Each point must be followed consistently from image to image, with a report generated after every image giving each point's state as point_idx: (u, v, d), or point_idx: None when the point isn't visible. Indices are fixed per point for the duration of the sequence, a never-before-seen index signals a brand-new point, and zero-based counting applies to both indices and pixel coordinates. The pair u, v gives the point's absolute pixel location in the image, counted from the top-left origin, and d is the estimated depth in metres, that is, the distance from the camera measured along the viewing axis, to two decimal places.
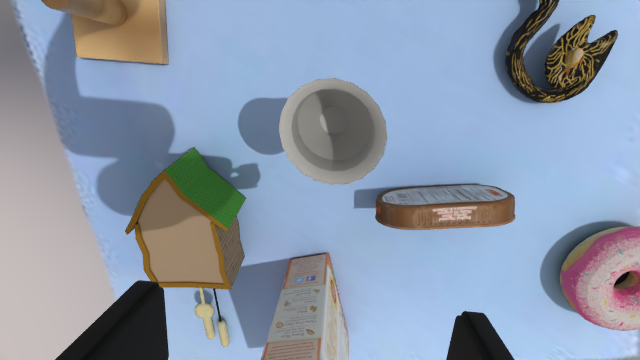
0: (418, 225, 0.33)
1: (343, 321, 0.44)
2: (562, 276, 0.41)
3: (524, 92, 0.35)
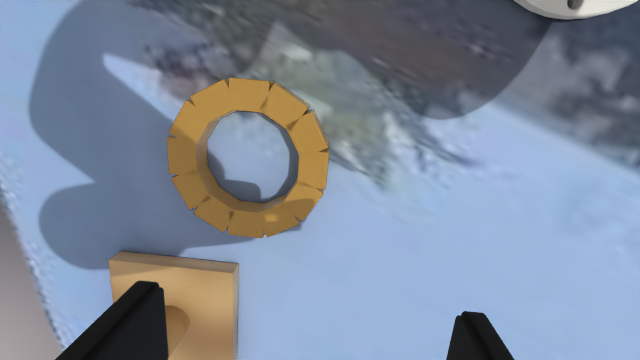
0: None
1: None
2: None
3: None
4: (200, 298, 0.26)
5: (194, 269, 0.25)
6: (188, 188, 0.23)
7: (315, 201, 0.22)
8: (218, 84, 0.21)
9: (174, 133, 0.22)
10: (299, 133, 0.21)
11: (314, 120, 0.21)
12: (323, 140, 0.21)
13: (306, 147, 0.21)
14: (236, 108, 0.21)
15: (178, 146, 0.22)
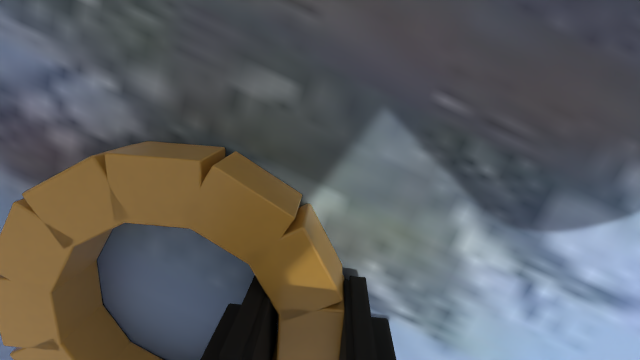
0: None
1: None
2: None
3: None
4: None
5: None
6: None
7: None
8: (82, 168, 0.09)
9: (0, 270, 0.10)
10: (278, 271, 0.09)
11: (311, 245, 0.09)
12: (333, 287, 0.09)
13: (294, 300, 0.09)
14: (129, 220, 0.09)
15: (13, 295, 0.10)
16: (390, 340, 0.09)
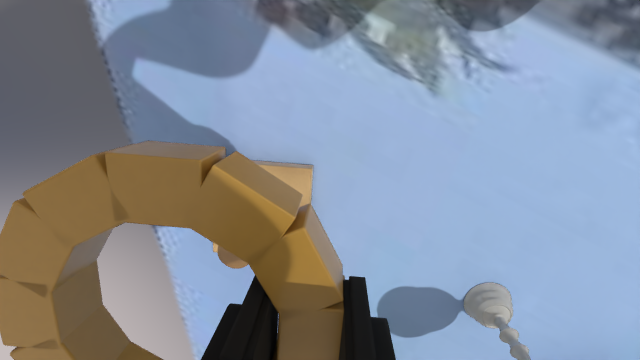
0: None
1: None
2: None
3: None
4: None
5: (280, 166, 0.31)
6: None
7: None
8: (82, 167, 0.09)
9: (0, 269, 0.10)
10: (278, 271, 0.09)
11: (312, 245, 0.09)
12: (333, 287, 0.09)
13: (295, 300, 0.09)
14: (130, 219, 0.09)
15: (13, 294, 0.10)
16: (390, 340, 0.09)
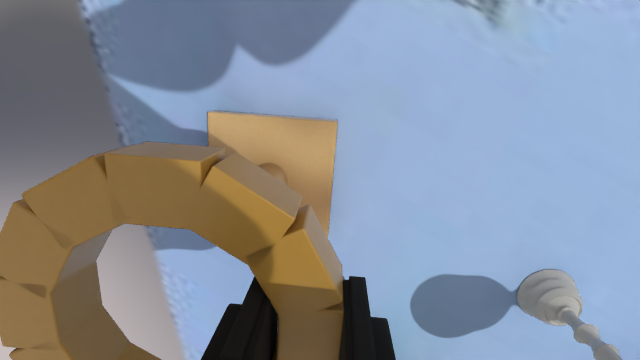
0: None
1: None
2: None
3: None
4: (300, 153, 0.25)
5: (297, 119, 0.24)
6: None
7: None
8: (81, 168, 0.09)
9: None
10: (278, 272, 0.09)
11: (311, 246, 0.09)
12: (333, 288, 0.09)
13: (294, 301, 0.09)
14: (129, 221, 0.09)
15: (12, 296, 0.10)
16: (389, 340, 0.09)
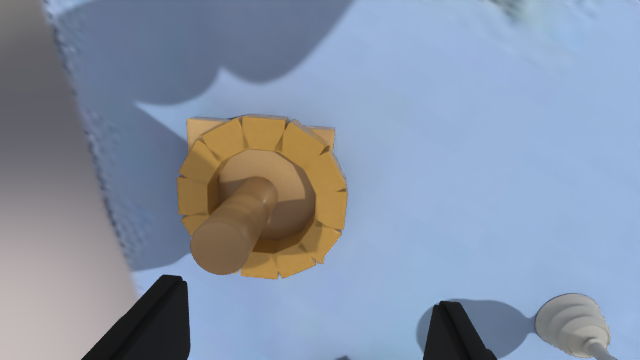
0: None
1: None
2: None
3: None
4: (293, 165, 0.22)
5: None
6: None
7: (333, 242, 0.21)
8: (231, 123, 0.20)
9: (184, 173, 0.21)
10: (316, 172, 0.20)
11: (332, 159, 0.20)
12: (342, 179, 0.20)
13: (324, 186, 0.20)
14: (250, 147, 0.20)
15: (188, 186, 0.21)
16: None
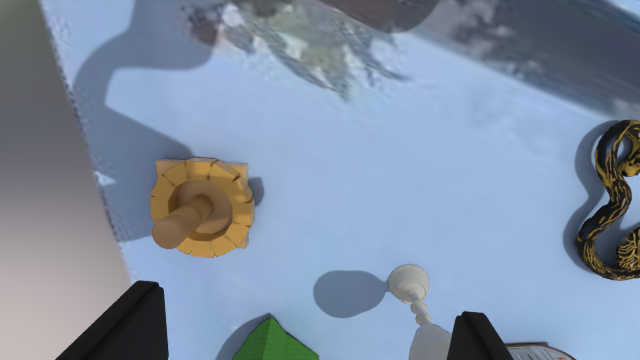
0: None
1: None
2: None
3: (595, 271, 0.37)
4: None
5: None
6: None
7: (244, 233, 0.35)
8: (179, 165, 0.34)
9: (154, 194, 0.35)
10: (231, 192, 0.34)
11: (239, 184, 0.34)
12: (246, 196, 0.34)
13: (236, 200, 0.34)
14: (191, 178, 0.34)
15: (156, 202, 0.35)
16: None
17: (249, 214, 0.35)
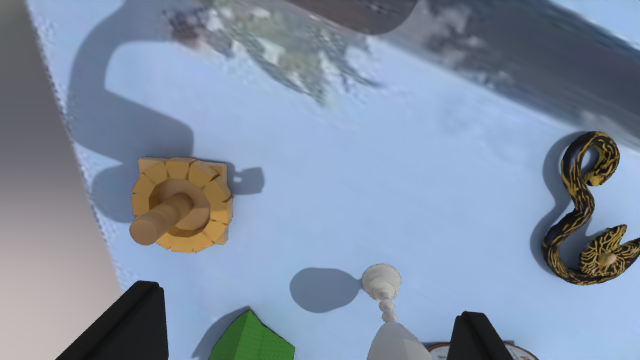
0: None
1: None
2: None
3: (559, 276, 0.38)
4: None
5: None
6: None
7: (222, 230, 0.37)
8: (159, 164, 0.35)
9: (135, 191, 0.36)
10: (209, 191, 0.36)
11: (217, 184, 0.35)
12: (223, 195, 0.36)
13: (213, 199, 0.36)
14: (171, 177, 0.35)
15: (138, 199, 0.36)
16: None
17: (226, 213, 0.36)
